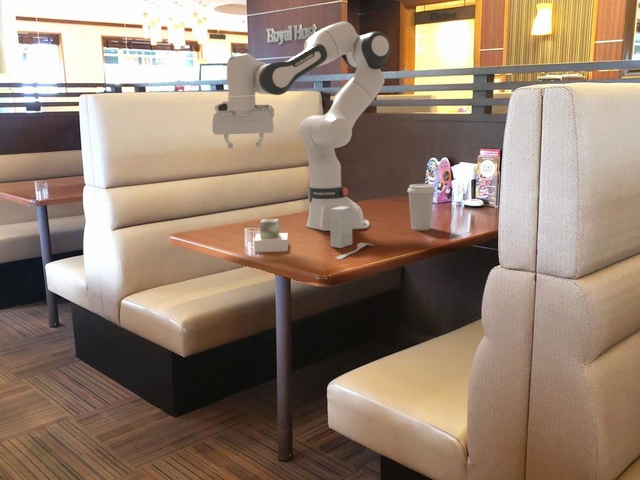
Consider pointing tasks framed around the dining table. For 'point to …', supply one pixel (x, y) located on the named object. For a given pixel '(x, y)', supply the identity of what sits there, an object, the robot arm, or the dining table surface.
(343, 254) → the fork
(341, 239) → the skincare box
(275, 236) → the sage cube
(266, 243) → the painted block
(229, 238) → the dining table surface
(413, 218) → the coffee cup
